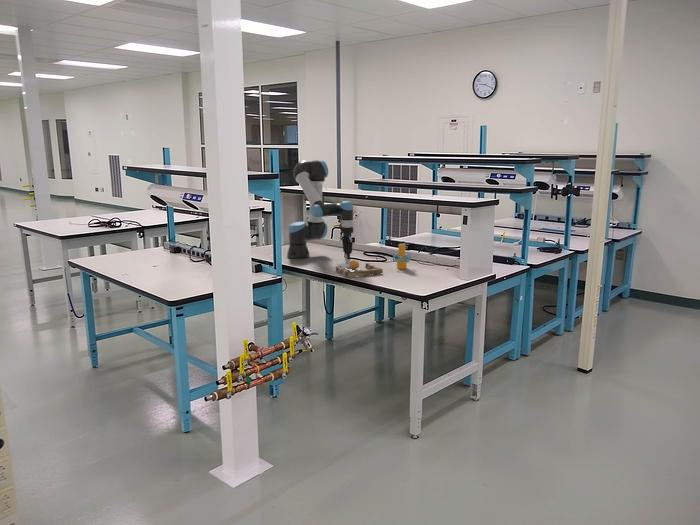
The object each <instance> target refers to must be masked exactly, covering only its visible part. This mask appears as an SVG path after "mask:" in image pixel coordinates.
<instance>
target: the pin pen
mask: <svg viewBox="0 0 700 525" xmlns="http://www.w3.org/2000/svg"><path fill="white" fill-rule="evenodd" d="M365 268H366V269H364V270H363V269H362V270H363V271H354V272H350V271H348V270H346V269H344V268H342V267H340V266H338V265H336V266H335V272H337V271H338V272H340V273H341V275H342V274H343V275H342V276H344V275H345V276H344V277H346V276H347V277H354V278H357V277H356V276H362V277H365V276H364V275H370V276H373V275H372V274H378V275H382V274H381V273H383V270H384V269H383V268H382V267H379V266H377V265H374V264H373V263H370V262H365ZM338 272H337V273H338ZM340 273H339V274H340ZM347 277H346V278H347Z"/></svg>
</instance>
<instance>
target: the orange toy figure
mask: <svg viewBox="0 0 700 525" xmlns="http://www.w3.org/2000/svg"><path fill="white" fill-rule="evenodd" d="M396 257H397V258H396ZM411 258H412V255H411V254H410V253H406V244H405V243H399V244H398V253H395V254H394V255H393V256H392V261H393V262H395V263H396V269H398V270H405V269H407V267H408V265H407V263H409V262H410V260H411Z"/></svg>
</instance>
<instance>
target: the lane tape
mask: <svg viewBox="0 0 700 525" xmlns="http://www.w3.org/2000/svg"><path fill="white" fill-rule="evenodd" d="M338 265H339V266H341V267H342V268H347V269H350V267H349V264H345V262H343V263H337V265H336V266H338Z"/></svg>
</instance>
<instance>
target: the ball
mask: <svg viewBox="0 0 700 525" xmlns="http://www.w3.org/2000/svg"><path fill="white" fill-rule="evenodd" d="M349 267H350V269H352V270H355V269H356V268H359V269H360V263H359V261H358V260H350V264H349Z"/></svg>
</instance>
